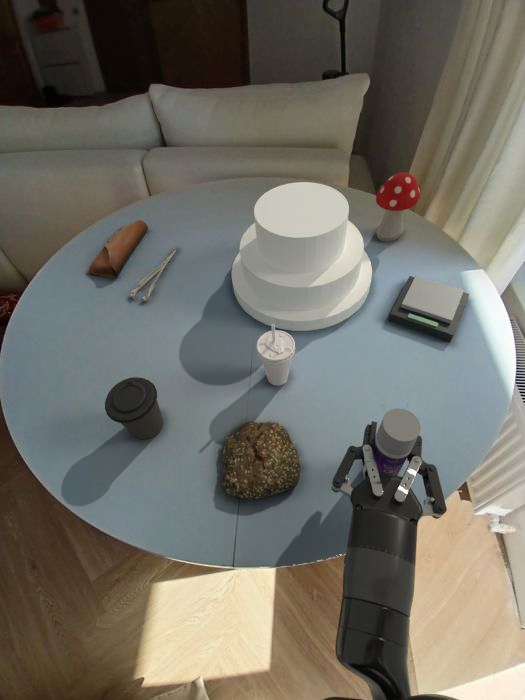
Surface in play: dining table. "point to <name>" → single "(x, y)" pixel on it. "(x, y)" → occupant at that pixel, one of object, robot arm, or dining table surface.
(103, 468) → the dining table surface
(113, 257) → the sunglasses case
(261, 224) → the cake
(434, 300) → the scale
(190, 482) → the dining table surface
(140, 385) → the coffee cup
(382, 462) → the container
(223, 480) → the bread roll
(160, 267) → the jawbone
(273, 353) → the smoothie
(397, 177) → the decorative mushroom
